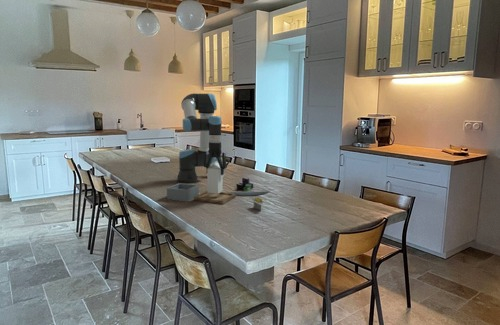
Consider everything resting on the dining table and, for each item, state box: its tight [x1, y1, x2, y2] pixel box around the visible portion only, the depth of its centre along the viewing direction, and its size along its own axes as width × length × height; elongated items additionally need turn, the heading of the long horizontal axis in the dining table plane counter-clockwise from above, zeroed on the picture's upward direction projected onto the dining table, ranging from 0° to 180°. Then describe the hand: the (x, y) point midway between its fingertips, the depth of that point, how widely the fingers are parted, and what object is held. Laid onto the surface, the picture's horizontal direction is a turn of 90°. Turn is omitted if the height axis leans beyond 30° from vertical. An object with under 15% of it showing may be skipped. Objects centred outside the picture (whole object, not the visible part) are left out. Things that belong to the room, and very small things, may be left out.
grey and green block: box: [251, 196, 265, 212], centre depth 198 cm, size 12×18×7 cm, turn 29°
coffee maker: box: [215, 154, 230, 178], centre depth 281 cm, size 15×9×18 cm, turn 68°
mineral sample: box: [225, 177, 269, 197], centre depth 242 cm, size 35×35×9 cm
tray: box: [193, 190, 237, 205], centre depth 218 cm, size 20×18×2 cm
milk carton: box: [206, 161, 224, 194], centre depth 216 cm, size 7×7×19 cm
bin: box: [166, 182, 200, 202], centre depth 219 cm, size 14×14×7 cm
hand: (215, 179), depth 217 cm, fingers closed on milk carton, 7 cm apart
